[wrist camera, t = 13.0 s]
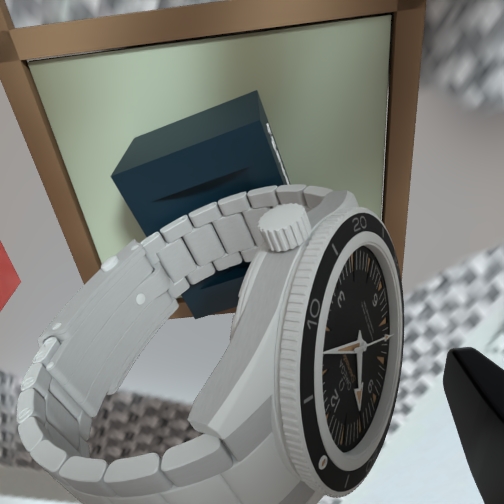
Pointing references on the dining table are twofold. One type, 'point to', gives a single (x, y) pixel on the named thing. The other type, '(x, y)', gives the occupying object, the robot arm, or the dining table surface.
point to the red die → (6, 277)
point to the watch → (243, 326)
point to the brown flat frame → (217, 101)
